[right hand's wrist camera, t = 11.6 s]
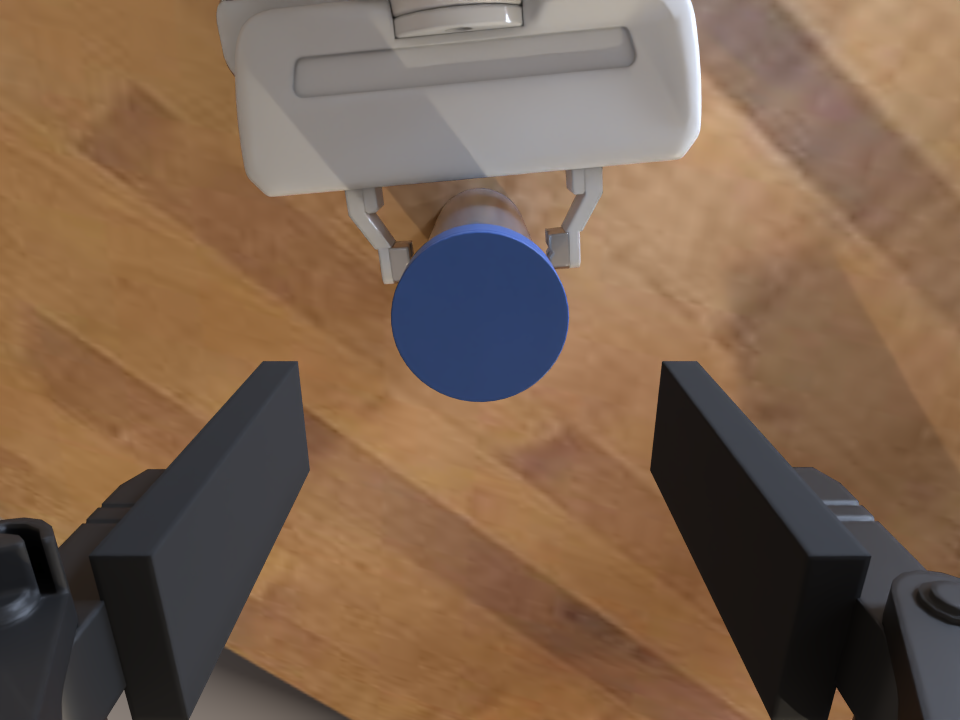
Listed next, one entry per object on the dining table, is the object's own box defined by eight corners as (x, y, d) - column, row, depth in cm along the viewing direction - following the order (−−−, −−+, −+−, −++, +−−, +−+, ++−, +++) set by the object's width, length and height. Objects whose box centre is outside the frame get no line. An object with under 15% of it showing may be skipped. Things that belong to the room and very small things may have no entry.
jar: (443, 285, 38) (419, 398, 22) (426, 196, 36) (386, 254, 20) (530, 270, 37) (566, 376, 22) (518, 180, 35) (546, 227, 20)
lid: (415, 393, 24) (411, 414, 22) (380, 239, 22) (372, 248, 20) (571, 369, 23) (578, 388, 22) (551, 209, 21) (557, 217, 20)
